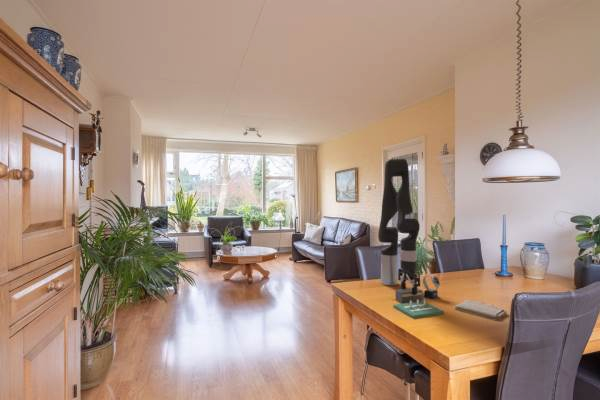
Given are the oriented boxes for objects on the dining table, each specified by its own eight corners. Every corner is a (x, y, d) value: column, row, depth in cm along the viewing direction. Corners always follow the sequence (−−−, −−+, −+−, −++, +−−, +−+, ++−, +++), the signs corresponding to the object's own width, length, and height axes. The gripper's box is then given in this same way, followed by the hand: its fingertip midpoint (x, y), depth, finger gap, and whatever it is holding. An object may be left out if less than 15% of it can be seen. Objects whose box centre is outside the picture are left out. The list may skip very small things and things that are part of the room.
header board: (393, 307, 148) (393, 297, 147) (422, 303, 152) (422, 293, 152) (412, 318, 134) (412, 307, 134) (443, 313, 139) (443, 303, 139)
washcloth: (498, 322, 131) (498, 314, 131) (453, 310, 144) (453, 303, 144) (508, 315, 138) (508, 307, 138) (464, 304, 152) (464, 298, 152)
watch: (436, 299, 158) (436, 277, 157) (421, 296, 163) (420, 274, 163) (441, 297, 161) (441, 275, 161) (426, 293, 167) (425, 272, 167)
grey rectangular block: (401, 303, 153) (401, 292, 153) (395, 300, 158) (395, 290, 158) (422, 300, 157) (422, 290, 157) (416, 297, 161) (416, 287, 161)
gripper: (393, 257, 162) (393, 289, 162) (411, 262, 149) (411, 297, 149) (406, 256, 165) (406, 288, 165) (424, 261, 151) (425, 295, 151)
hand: (408, 292), depth 157 cm, fingers open, 8 cm apart
